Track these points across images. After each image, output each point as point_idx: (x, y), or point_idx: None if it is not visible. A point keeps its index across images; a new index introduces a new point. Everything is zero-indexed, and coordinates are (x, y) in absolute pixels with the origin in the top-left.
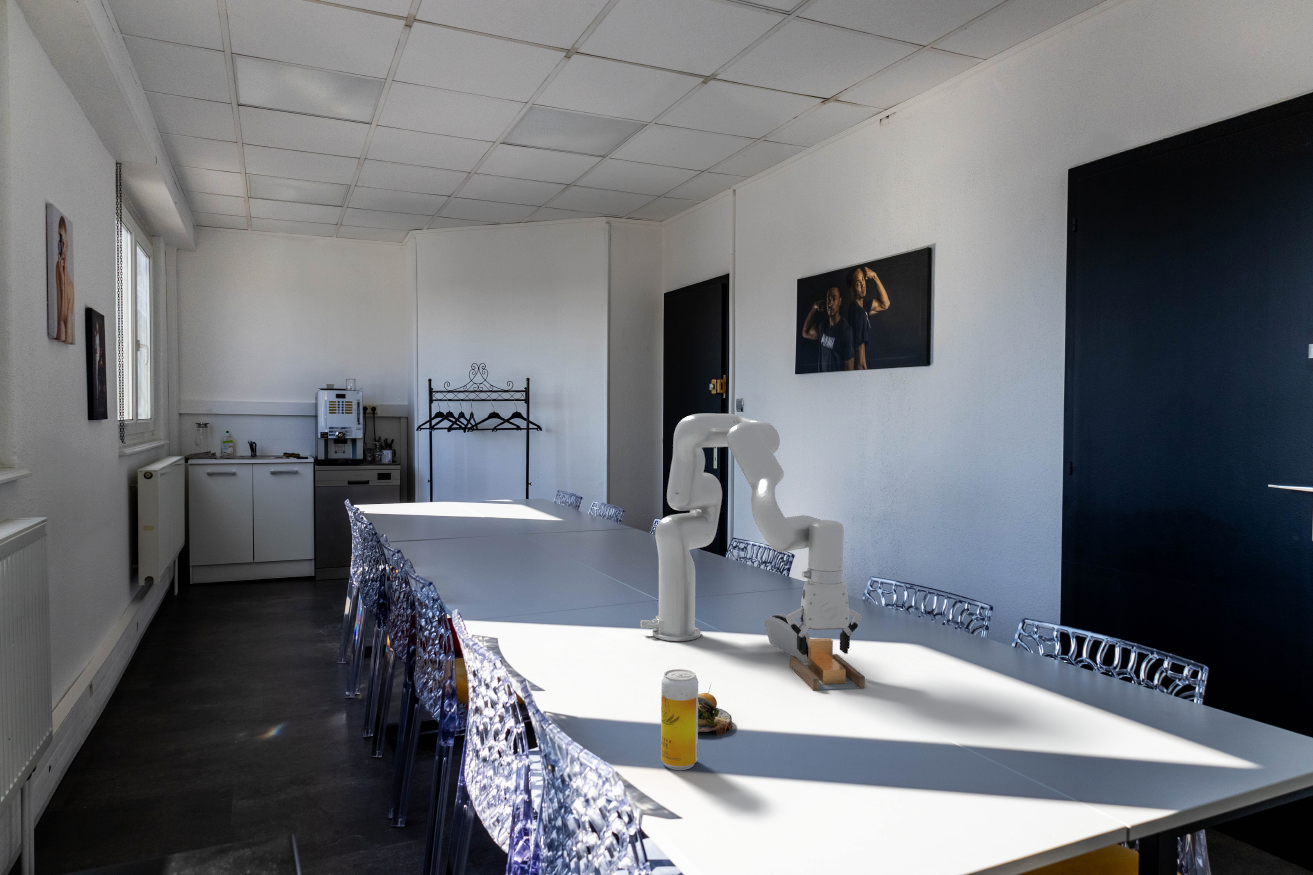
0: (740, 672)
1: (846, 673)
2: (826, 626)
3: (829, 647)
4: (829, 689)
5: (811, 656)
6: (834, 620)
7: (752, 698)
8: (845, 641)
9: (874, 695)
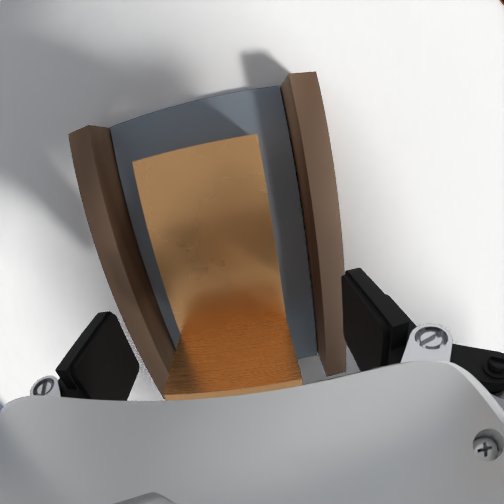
0: (474, 274)
1: (136, 259)
2: (198, 416)
3: (188, 366)
4: (233, 94)
5: (285, 325)
6: (73, 473)
7: (475, 57)
8: (84, 351)
9: (80, 69)
